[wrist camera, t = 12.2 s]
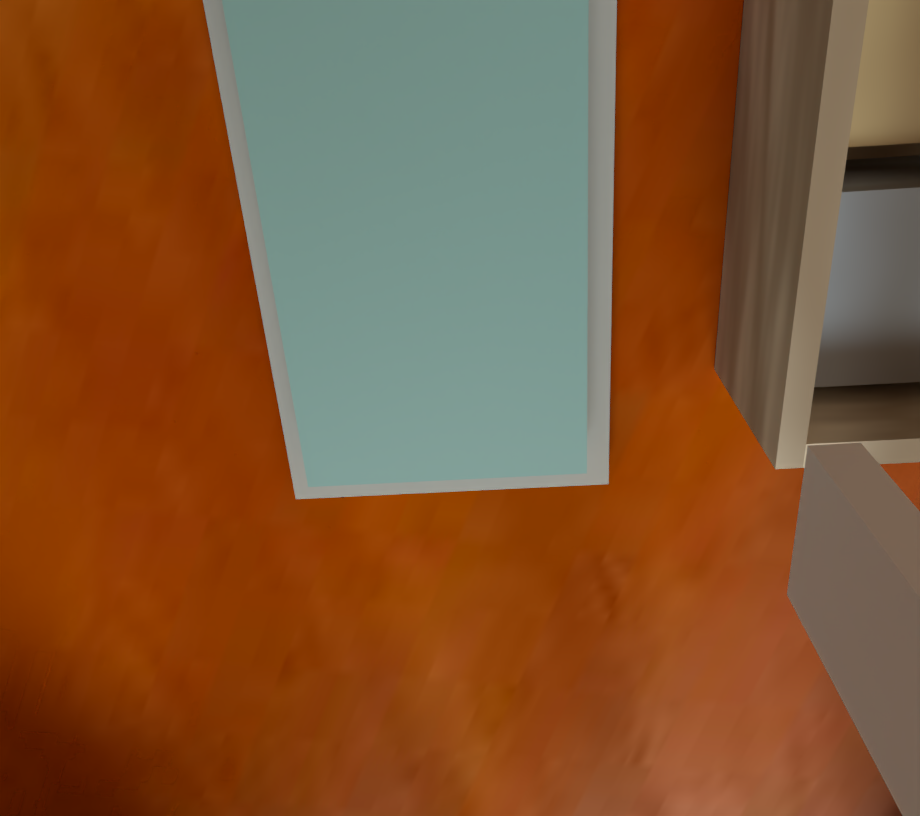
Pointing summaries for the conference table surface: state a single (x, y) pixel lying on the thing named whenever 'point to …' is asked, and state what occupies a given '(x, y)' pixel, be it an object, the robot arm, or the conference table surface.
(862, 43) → the box
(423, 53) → the lid
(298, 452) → the mat
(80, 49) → the conference table surface
